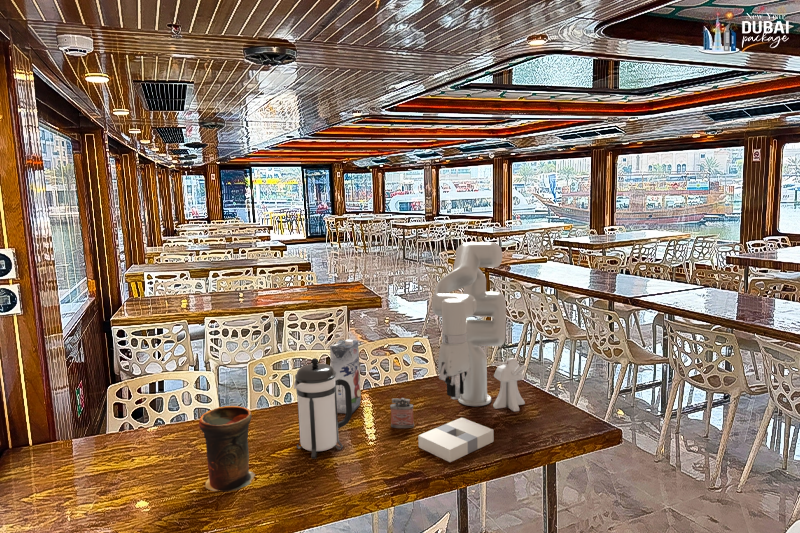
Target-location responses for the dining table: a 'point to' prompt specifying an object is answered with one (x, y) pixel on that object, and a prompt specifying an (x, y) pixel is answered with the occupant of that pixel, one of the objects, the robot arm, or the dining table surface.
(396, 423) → the lighter
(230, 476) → the vessel
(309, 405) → the coffee press
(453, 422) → the clevis block
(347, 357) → the juice carton
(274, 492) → the dining table surface
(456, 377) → the steel pin
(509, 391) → the toy gun turret
